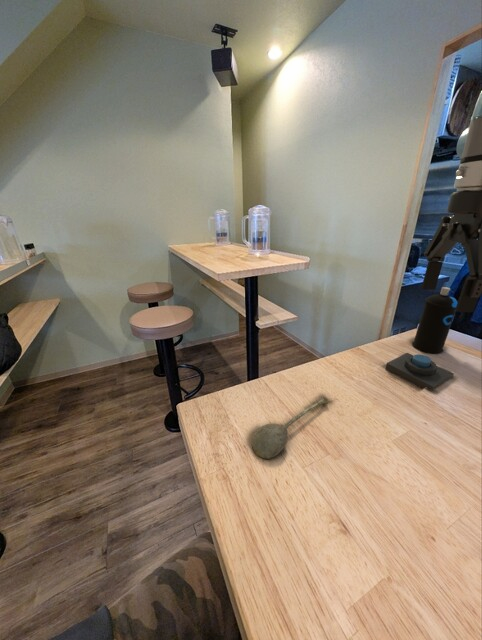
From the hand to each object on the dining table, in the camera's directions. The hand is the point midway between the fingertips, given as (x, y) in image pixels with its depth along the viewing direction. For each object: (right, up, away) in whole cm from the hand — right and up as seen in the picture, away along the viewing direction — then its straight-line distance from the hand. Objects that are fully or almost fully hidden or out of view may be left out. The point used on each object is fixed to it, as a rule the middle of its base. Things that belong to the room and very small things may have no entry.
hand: (443, 299), depth 55 cm
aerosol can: (+16, -14, +27) cm, 34 cm away
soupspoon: (-32, -28, 0) cm, 43 cm away
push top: (+4, -16, +13) cm, 21 cm away
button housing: (+4, -20, +15) cm, 25 cm away
